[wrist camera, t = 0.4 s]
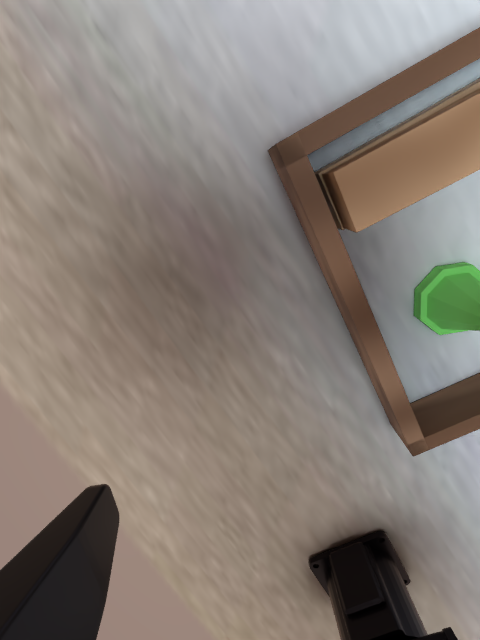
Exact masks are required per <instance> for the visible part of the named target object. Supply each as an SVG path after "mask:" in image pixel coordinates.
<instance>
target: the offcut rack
mask: <svg viewBox="0 0 480 640" xmlns="http://www.w3.org/2000/svg"><path fill="white" fill-rule="evenodd" d="M479 58H480V27H479V28H478V29H476V30H474V31H472V32H471V33H469V34H467V35H466V36H464V37H462V38H460V39H459V40H457V41H455V42H453V43H452V44H450V45H448V46H446V47H445V48H443V49H441V50H439V51H438V52H436V53H434V54H432V55H431V56H429V57H427V58H425V59H424V60H422V61H420V62H418V63H417V64H415V65H413V66H411V67H410V68H408V69H406V70H404V71H403V72H401V73H399V74H397V75H396V76H394V77H392V78H390V79H389V80H387V81H385V82H383V83H382V84H380V85H378V86H376V87H375V88H373V89H371V90H369V91H368V92H366V93H364V94H362V95H361V96H359V97H357V98H355V99H354V100H352V101H350V102H349V103H347V104H345V105H343V106H342V107H340V108H338V109H336V110H335V111H333V112H331V113H329V114H328V115H326V116H324V117H322V118H321V119H319V120H317V121H315V122H314V123H312V124H310V125H308V126H307V127H305V128H303V129H301V130H300V131H298V132H296V133H294V134H293V135H291V136H289V137H287V138H286V139H284V140H282V141H280V142H279V143H277V144H275V145H274V146H273V147H272V148H270V149H269V150H268V152H269V154H270V157H271V159H272V161H273V163H274V166H275V168H276V170H277V172H278V174H279V177H280V179H281V181H282V183H283V186H284V188H285V190H286V192H287V194H288V197H289V199H290V201H291V203H292V206H293V208H294V210H295V212H296V214H297V217H298V219H299V221H300V223H301V226H302V228H303V230H304V232H305V234H306V237H307V239H308V241H309V243H310V246H311V248H312V250H313V252H314V254H315V257H316V259H317V261H318V263H319V266H320V268H321V270H322V272H323V275H324V277H325V279H326V281H327V283H328V286H329V288H330V290H331V292H332V295H333V297H334V299H335V301H336V303H337V306H338V308H339V310H340V312H341V315H342V317H343V319H344V321H345V323H346V326H347V328H348V330H349V332H350V335H351V337H352V339H353V341H354V343H355V346H356V348H357V350H358V352H359V355H360V357H361V359H362V361H363V363H364V366H365V368H366V370H367V372H368V375H369V377H370V379H371V381H372V383H373V386H374V388H375V390H376V392H377V395H378V397H379V399H380V401H381V403H382V406H383V408H384V410H385V412H386V415H387V417H388V419H389V421H390V423H391V425H392V427H393V428H394V430H395V431H396V433H397V434H398V436H399V437H400V438H401V440H402V441H403V443H404V444H405V446H406V447H407V448H408V450H409V451H410V453H411V454H412V456H416V455H418V454H421V453H423V452H425V451H428V450H430V449H432V448H435V447H437V446H440V445H442V444H444V443H447V442H449V441H452V440H454V439H456V438H459V437H461V436H463V435H466V434H468V433H471V432H473V431H475V430H478V429H480V373H479V374H476V375H474V376H472V377H470V378H467V379H465V380H463V381H460V382H458V383H456V384H454V385H451V386H449V387H447V388H445V389H442V390H440V391H438V392H436V393H433V394H431V395H429V396H426V397H424V398H422V399H420V400H417V401H415V402H413V403H411V404H410V403H409V400H408V398H407V395H406V393H405V391H404V388H403V386H402V383H401V381H400V378H399V376H398V374H397V371H396V369H395V366H394V364H393V362H392V359H391V357H390V354H389V352H388V349H387V347H386V345H385V342H384V340H383V337H382V335H381V333H380V330H379V328H378V325H377V323H376V321H375V318H374V316H373V313H372V311H371V308H370V306H369V304H368V301H367V299H366V296H365V294H364V292H363V289H362V287H361V284H360V282H359V279H358V277H357V275H356V272H355V270H354V267H353V265H352V263H351V260H350V258H349V255H348V253H347V251H346V248H345V246H344V243H343V241H342V238H341V236H340V234H339V231H338V229H337V226H336V224H335V222H334V219H333V217H332V214H331V212H330V209H329V207H328V205H327V202H326V200H325V197H324V195H323V193H322V190H321V188H320V185H319V183H318V180H317V178H316V176H315V173H314V171H313V168H312V166H311V164H310V161H309V159H308V156H307V155H308V154H310V153H312V152H313V151H315V150H317V149H319V148H321V147H322V146H324V145H326V144H328V143H329V142H331V141H333V140H335V139H337V138H338V137H340V136H342V135H344V134H346V133H347V132H349V131H351V130H353V129H354V128H356V127H358V126H360V125H362V124H363V123H365V122H367V121H369V120H370V119H372V118H374V117H376V116H378V115H379V114H381V113H383V112H385V111H387V110H388V109H390V108H392V107H394V106H395V105H397V104H399V103H401V102H403V101H404V100H406V99H408V98H410V97H411V96H413V95H415V94H417V93H419V92H420V91H422V90H424V89H426V88H428V87H429V86H431V85H433V84H435V83H436V82H438V81H440V80H442V79H444V78H445V77H447V76H449V75H451V74H452V73H454V72H456V71H458V70H460V69H461V68H463V67H465V66H467V65H469V64H470V63H472V62H474V61H476V60H477V59H479Z"/></svg>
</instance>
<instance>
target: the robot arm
mask: <svg viewBox="0 0 480 640" xmlns="http://www.w3.org/2000/svg"><path fill="white" fill-rule="evenodd" d="M118 527H119V511H118V508H117V505H116V503H115V500H114V497H113V494H112V491H111V489H110V487H109V486H108V485H107V484H101V485H94V486H90V487H88V488H86V489H85V490H84V491H83V492H82V493H81V494H80V495H79V496H78V497H77V498H76V499H74V500H73V501H72V502H71V503H70V504H69V505H68V506H67V507H66V508H65V509H64V510H63V511H62V512H61V513H60V514H59V515H58V516H57V517H56V518H55V519H54V520H52V521H51V522H50V523H49V524H48V525H47V526H46V527H45V528H44V529H43V530H42V531H41V532H40V533H39V534H38V535H37V536H36V537H35V538H34V539H33V540H31V541H30V542H29V543H28V544H27V545H26V546H25V547H24V548H23V549H22V550H21V551H20V552H19V553H18V554H17V555H16V556H15V557H14V558H13V559H12V560H10V562H8V563H7V564H6V565H5V566H4V567H3V568H2V569H1V570H0V640H96V638H97V634H98V630H99V626H100V623H101V619H102V615H103V611H104V607H105V602H106V597H107V592H108V587H109V581H110V575H111V569H112V562H113V556H114V551H115V544H116V539H117V533H118ZM309 566H310V569H311V570H312V572H313V573H314V575H315V576H316V578H317V579H318V581H319V582H320V584H321V585H322V587H323V588H324V589H325V591H326V592H327V594H328V595H329V597H330V599H331V603H332V607H333V611H334V615H335V618H336V622H337V626H338V630H339V634H340V638H341V640H458V639H457V638H456V636H455V634H454V632H453V631H452V629H451V627H448V628H444V629H442V631H441V632H437V633H433V634H429V635H428V634H427V632H426V630H425V628H424V625H423V623H422V621H421V619H420V617H419V614H418V612H417V610H416V608H415V606H414V603H413V601H412V599H411V597H410V594H409V592H408V590H407V588H406V585H408V584H409V583H410V579H409V576H408V574H407V572H406V571H405V569H404V567H403V565H402V563H401V561H400V559H399V557H398V556H397V554H396V552H395V550H394V548H393V546H392V544H391V542H390V540H389V539H388V537H387V535H386V533H385V532H384V531H377V532H375V533H372V534H370V535H367V536H365V537H362V538H360V539H357V540H355V541H352V542H350V543H347V544H345V545H342V546H340V547H337V548H335V549H332V550H330V551H327V552H324V553H322V554H319V555H317V556H314V557H312V558H310V559H309Z"/></svg>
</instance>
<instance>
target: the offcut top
mask: <svg viewBox="0 0 480 640" xmlns="http://www.w3.org/2000/svg"><path fill="white" fill-rule="evenodd" d="M478 170H480V88H479V89H477V90H476V91H474V92H472V93H470V94H468V95H466V96H465V97H463V98H461V99H459V100H457V101H455V102H454V103H452V104H450V105H448V106H446V107H444V108H443V109H441V110H439V111H437V112H435V113H433V114H432V115H430V116H428V117H426V118H424V119H422V120H421V121H419V122H417V123H415V124H413V125H411V126H410V127H408V128H406V129H404V130H402V131H400V132H399V133H397V134H395V135H393V136H391V137H389V138H388V139H386V140H384V141H382V142H380V143H378V144H377V145H375V146H373V147H371V148H369V149H367V150H366V151H364V152H362V153H360V154H358V155H356V156H355V157H353V158H351V159H349V160H347V161H345V162H344V163H342V164H340V165H338V166H336V167H334V168H333V169H331V170H329V171H327V172H325V173H323V174H322V177H323V179H324V182H325V184H326V187H327V189H328V192H329V194H330V197H331V199H332V202H333V204H334V206H335V209H336V211H337V214H338V216H339V219H340V221H341V224H342V226H343V228H345V229H348V230H351V231H354V232H359V231H361V230H363V229H365V228H367V227H369V226H371V225H373V224H375V223H377V222H379V221H381V220H383V219H384V218H386V217H388V216H390V215H392V214H394V213H396V212H398V211H400V210H402V209H404V208H406V207H408V206H410V205H412V204H414V203H416V202H417V201H419V200H421V199H423V198H425V197H427V196H429V195H431V194H433V193H435V192H437V191H439V190H441V189H443V188H445V187H447V186H449V185H451V184H452V183H454V182H456V181H458V180H460V179H462V178H464V177H466V176H468V175H470V174H472V173H474V172H476V171H478Z"/></svg>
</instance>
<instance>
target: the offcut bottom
mask: <svg viewBox="0 0 480 640" xmlns="http://www.w3.org/2000/svg"><path fill="white" fill-rule="evenodd" d="M479 88H480V78H479V79H477V80H476V81H474V82H472V83H470V84H469V85H467V86H465V87H463V88H462V89H460V90H458V91H456V92H455V93H453V94H451V95H449V96H448V97H446V98H444V99H442V100H441V101H439V102H437V103H435V104H434V105H432V106H430V107H428V108H427V109H425V110H423V111H421V112H420V113H418V114H416V115H414V116H413V117H411V118H409V119H407V120H406V121H404V122H402V123H400V124H399V125H397V126H395V127H393V128H392V129H390V130H388V131H386V132H385V133H383V134H381V135H379V136H377V137H376V138H374V139H372V140H370V141H369V142H367V143H365V144H363V145H362V146H360V147H358V148H356V149H355V150H353V151H351V152H349V153H348V154H346V155H344V156H342V157H341V158H339V159H337V160H335V161H334V162H332V163H330V164H328V165H327V166H325V167H323V168H321V169H320V170H318V171H316V172H314V173H315V176H316V178H317V180H318V183H319V185H320V188H321V190H322V193H323V195H324V197H325V200H326V202H327V205H328V207H329V209H330V212H331V214H332V217H333V219H334V222H335V224H336V226H337V228H338V229H341V230H344V229H345V228H343V226H342V224H341V221H340V219H339V216H338V214H337V211H336V209H335V206H334V204H333V202H332V199H331V197H330V194H329V192H328V189H327V187H326V184H325V182H324V179H323V177H322V174H323V173H325V172H327V171H329V170H331V169H333V168H334V167H336V166H338V165H340V164H342V163H344V162H345V161H347V160H349V159H351V158H353V157H355V156H356V155H358V154H360V153H362V152H364V151H366V150H367V149H369V148H371V147H373V146H375V145H377V144H378V143H380V142H382V141H384V140H386V139H388V138H389V137H391V136H393V135H395V134H397V133H399V132H400V131H402V130H404V129H406V128H408V127H410V126H411V125H413V124H415V123H417V122H419V121H421V120H422V119H424V118H426V117H428V116H430V115H432V114H433V113H435V112H437V111H439V110H441V109H443V108H444V107H446V106H448V105H450V104H452V103H454V102H455V101H457V100H459V99H461V98H463V97H465V96H466V95H468V94H470V93H472V92H474V91H476V90H477V89H479Z"/></svg>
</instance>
